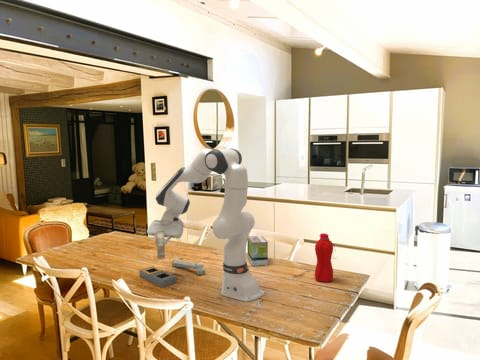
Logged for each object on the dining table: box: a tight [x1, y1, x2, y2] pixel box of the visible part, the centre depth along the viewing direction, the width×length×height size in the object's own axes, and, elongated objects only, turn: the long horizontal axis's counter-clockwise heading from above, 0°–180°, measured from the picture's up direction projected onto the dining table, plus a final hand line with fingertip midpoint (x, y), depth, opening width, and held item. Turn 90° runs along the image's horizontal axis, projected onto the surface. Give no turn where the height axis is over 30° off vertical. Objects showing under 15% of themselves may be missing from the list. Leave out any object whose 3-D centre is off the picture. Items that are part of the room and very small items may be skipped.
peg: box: [156, 231, 166, 259], centre depth 194 cm, size 4×4×14 cm
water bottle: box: [314, 232, 337, 283], centre depth 193 cm, size 9×11×25 cm
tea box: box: [247, 235, 269, 267], centre depth 224 cm, size 15×10×15 cm, turn 9°
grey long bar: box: [171, 259, 206, 276], centre depth 212 cm, size 5×7×25 cm
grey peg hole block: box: [138, 265, 177, 288], centre depth 199 cm, size 23×9×4 cm, turn 44°
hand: (159, 243), depth 193 cm, fingers closed on peg, 4 cm apart
